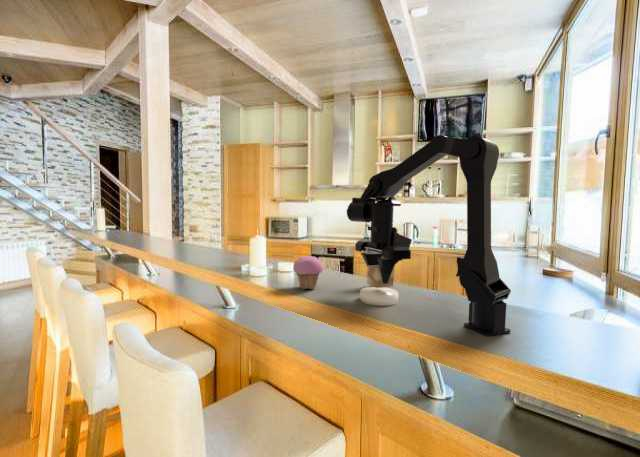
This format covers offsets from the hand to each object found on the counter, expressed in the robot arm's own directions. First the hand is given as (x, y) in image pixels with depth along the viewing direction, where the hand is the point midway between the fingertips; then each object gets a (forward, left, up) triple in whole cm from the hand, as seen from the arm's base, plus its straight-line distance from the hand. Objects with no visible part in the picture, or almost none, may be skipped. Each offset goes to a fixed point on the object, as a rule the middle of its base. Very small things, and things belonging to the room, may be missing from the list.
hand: (379, 281), depth 91 cm
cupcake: (+18, +14, -5) cm, 24 cm away
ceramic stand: (0, 0, -5) cm, 5 cm away
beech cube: (0, 0, -1) cm, 1 cm away
